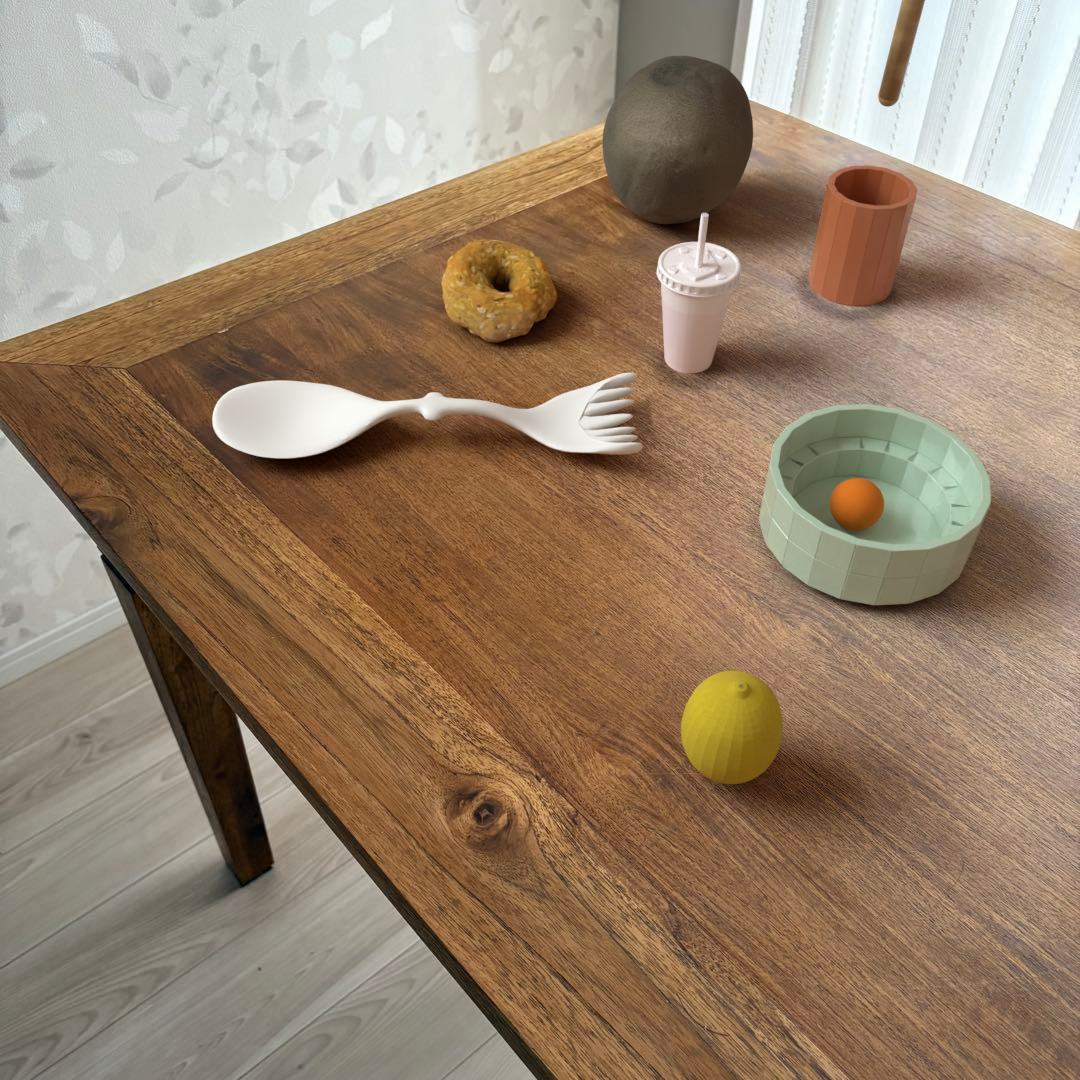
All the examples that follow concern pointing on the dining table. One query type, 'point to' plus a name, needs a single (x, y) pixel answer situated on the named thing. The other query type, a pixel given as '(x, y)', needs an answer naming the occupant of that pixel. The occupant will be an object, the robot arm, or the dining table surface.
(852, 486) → the ball
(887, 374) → the dining table surface
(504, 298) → the bagel
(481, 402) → the spoon
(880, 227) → the crock
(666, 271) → the smoothie
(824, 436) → the bowl
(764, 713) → the lemon
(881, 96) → the stick
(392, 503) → the dining table surface
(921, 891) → the dining table surface
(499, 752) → the dining table surface
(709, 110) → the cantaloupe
